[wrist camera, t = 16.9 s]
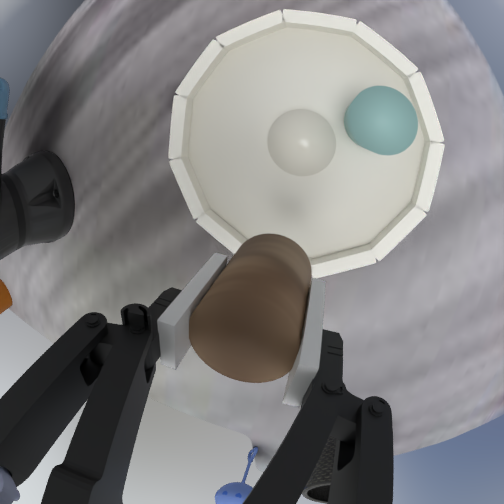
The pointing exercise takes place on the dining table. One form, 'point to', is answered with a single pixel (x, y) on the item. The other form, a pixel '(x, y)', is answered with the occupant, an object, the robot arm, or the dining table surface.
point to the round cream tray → (300, 140)
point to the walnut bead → (254, 311)
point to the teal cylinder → (381, 120)
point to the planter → (321, 475)
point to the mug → (4, 297)
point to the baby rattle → (236, 487)
